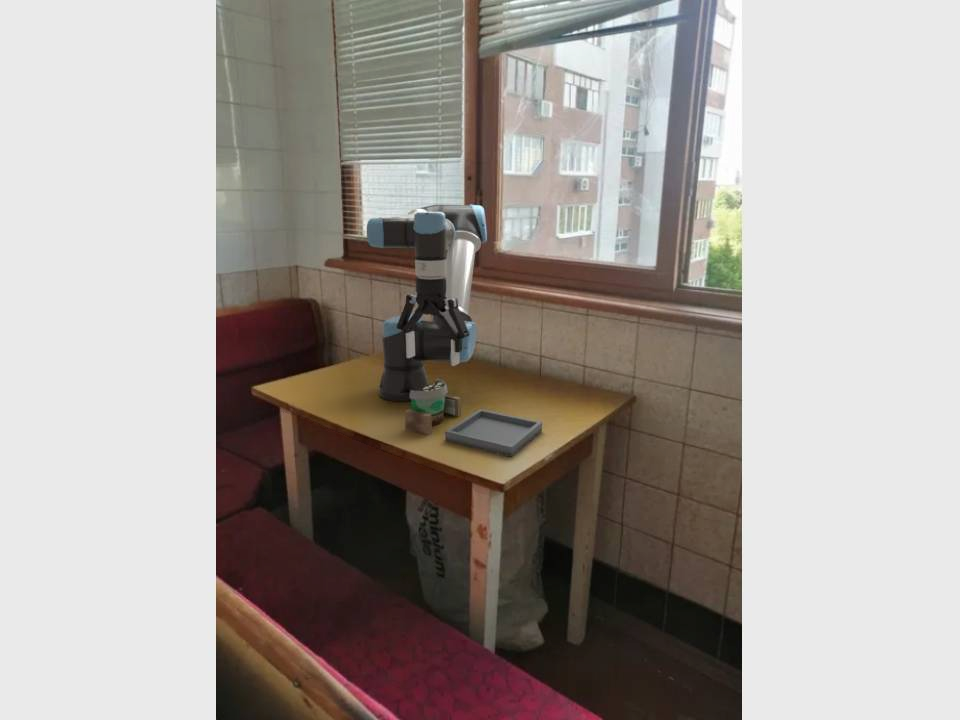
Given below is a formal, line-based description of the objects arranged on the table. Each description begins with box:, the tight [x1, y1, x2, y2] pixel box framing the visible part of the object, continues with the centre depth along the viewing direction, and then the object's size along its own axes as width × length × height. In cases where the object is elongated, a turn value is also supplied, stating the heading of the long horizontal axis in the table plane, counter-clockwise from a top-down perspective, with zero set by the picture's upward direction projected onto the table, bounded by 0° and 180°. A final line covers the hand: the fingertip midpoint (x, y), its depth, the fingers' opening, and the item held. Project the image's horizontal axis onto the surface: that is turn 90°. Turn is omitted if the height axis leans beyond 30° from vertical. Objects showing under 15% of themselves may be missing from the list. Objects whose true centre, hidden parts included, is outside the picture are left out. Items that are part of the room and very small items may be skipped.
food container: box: [409, 378, 448, 427], centre depth 153 cm, size 12×6×10 cm, turn 148°
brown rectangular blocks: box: [404, 393, 462, 436], centre depth 153 cm, size 7×16×5 cm, turn 150°
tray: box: [444, 408, 543, 458], centre depth 145 cm, size 18×17×2 cm
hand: (432, 360), depth 149 cm, fingers open, 13 cm apart
